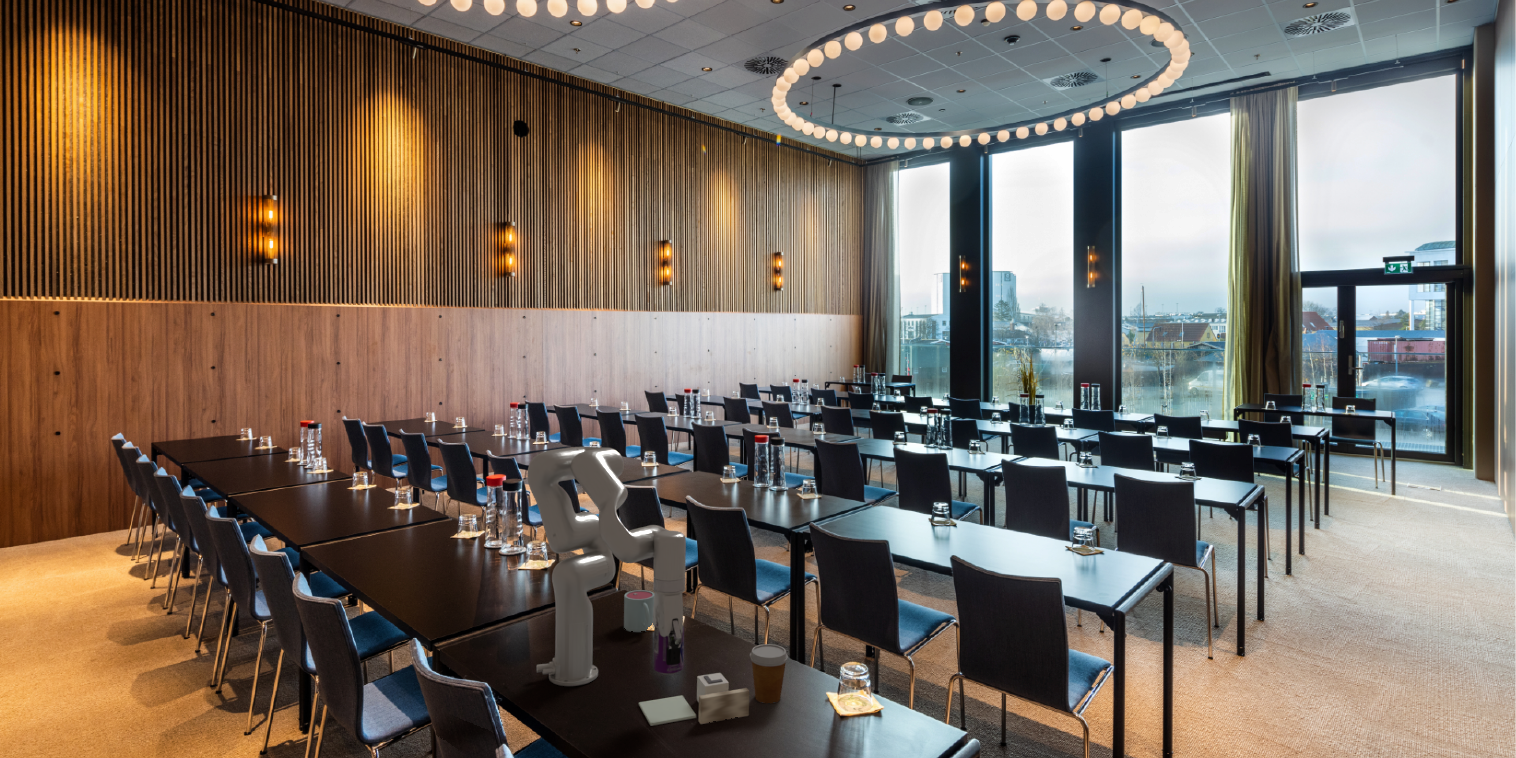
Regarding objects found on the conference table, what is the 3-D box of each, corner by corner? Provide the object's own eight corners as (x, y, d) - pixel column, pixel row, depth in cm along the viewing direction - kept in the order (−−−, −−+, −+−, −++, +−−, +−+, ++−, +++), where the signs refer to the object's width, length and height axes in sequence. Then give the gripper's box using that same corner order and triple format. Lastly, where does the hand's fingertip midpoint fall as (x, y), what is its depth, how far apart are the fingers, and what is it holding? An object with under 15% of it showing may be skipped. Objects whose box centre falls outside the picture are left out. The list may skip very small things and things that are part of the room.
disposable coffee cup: (774, 710, 185) (775, 661, 184) (741, 700, 190) (742, 652, 189) (793, 695, 193) (795, 648, 192) (761, 686, 198) (762, 640, 197)
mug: (620, 623, 240) (621, 592, 239) (649, 619, 244) (649, 588, 243) (632, 639, 227) (633, 605, 227) (662, 634, 231) (662, 602, 231)
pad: (650, 725, 176) (650, 723, 176) (638, 704, 186) (638, 702, 186) (696, 717, 180) (696, 715, 180) (682, 697, 190) (682, 695, 190)
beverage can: (678, 678, 178) (679, 627, 178) (649, 675, 180) (650, 624, 179) (687, 666, 185) (687, 617, 185) (659, 663, 187) (659, 614, 186)
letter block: (704, 710, 184) (705, 685, 183) (696, 700, 189) (697, 675, 189) (728, 706, 186) (728, 681, 186) (719, 696, 191) (720, 671, 191)
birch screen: (700, 724, 177) (701, 698, 177) (698, 721, 179) (699, 695, 178) (748, 715, 182) (749, 690, 182) (746, 712, 183) (746, 687, 183)
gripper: (644, 575, 188) (643, 646, 189) (664, 596, 172) (663, 674, 173) (673, 572, 191) (673, 642, 192) (695, 593, 175) (695, 669, 176)
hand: (668, 657), depth 182 cm, fingers closed on beverage can, 7 cm apart
